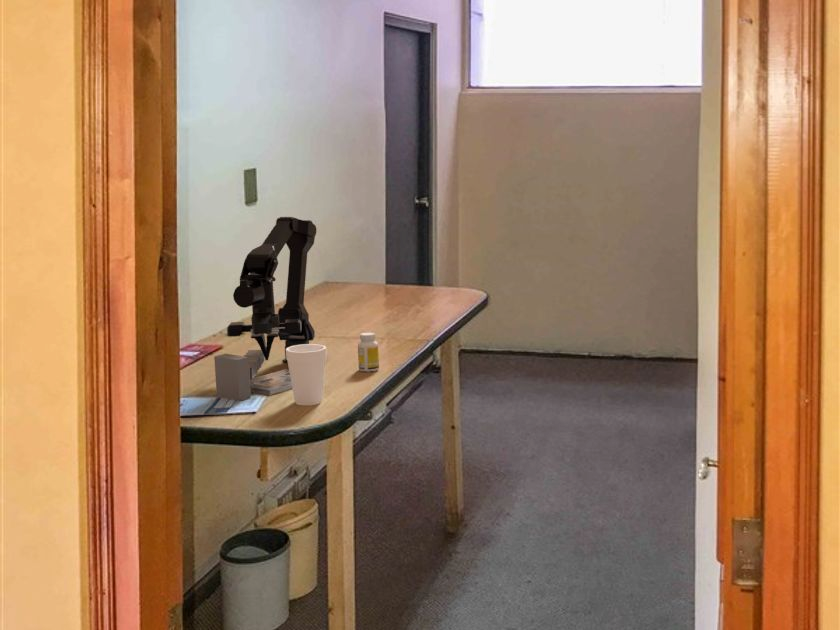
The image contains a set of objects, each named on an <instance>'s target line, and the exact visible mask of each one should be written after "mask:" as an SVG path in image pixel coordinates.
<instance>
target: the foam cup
mask: <svg viewBox="0 0 840 630" xmlns="http://www.w3.org/2000/svg"><path fill="white" fill-rule="evenodd" d="M327 355H328V353H327V346H325V345H324V344H319V343H317V344H316V343H309V344H302V345H295V346H291V347H288V348H287V349H286V360H287V361H288V362H287V366H288V370H289V372H290V378H291V383H292V389H291V390H292V392H293V397H294V398H293V399H294V402H295V404H296V405H298V406H315V405H320V404H321V403H322V402H323V397H324V385H325V384H324V383H325V374H326V373H325V372H326V361H327V360H326V359H327V357H328V356H327Z"/></svg>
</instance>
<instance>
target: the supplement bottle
mask: <svg viewBox="0 0 840 630" xmlns="http://www.w3.org/2000/svg"><path fill="white" fill-rule="evenodd" d="M359 339H360V341H359V342H358V343H357V354H358V355H357V356H358V370H359V371H360V372H362V371H366V372H367V373H370V371H373V372H376V371H379V369H380V360H379V359H380V358H379V355H380V354H379V343H378V342H377V341H375V340H376V333H374V332H363V333H360V335H359Z"/></svg>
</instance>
